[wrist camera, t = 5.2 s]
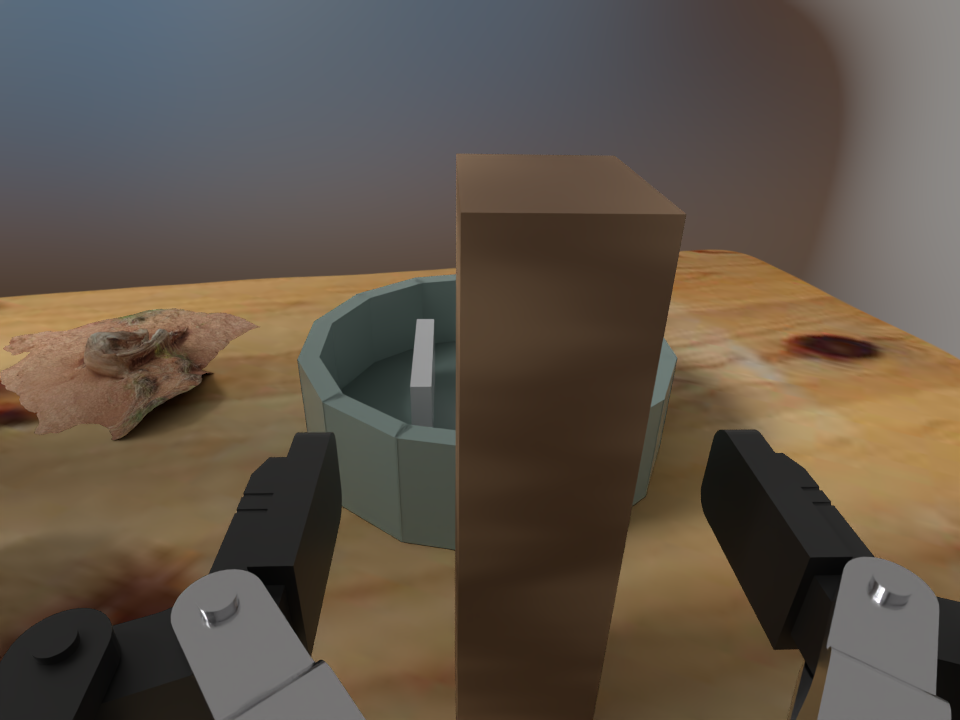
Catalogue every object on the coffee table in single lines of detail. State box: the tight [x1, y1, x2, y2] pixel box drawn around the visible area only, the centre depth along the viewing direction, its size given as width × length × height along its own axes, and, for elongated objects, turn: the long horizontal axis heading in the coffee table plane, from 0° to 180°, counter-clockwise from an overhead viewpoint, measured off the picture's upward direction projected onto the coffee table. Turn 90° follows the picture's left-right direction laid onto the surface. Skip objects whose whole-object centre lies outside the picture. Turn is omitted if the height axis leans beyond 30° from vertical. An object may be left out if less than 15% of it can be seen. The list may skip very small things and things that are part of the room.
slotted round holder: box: [297, 274, 677, 550], centre depth 27 cm, size 15×15×4 cm
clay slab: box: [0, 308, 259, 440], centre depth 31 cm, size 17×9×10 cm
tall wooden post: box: [455, 154, 686, 720], centre depth 13 cm, size 3×4×14 cm
